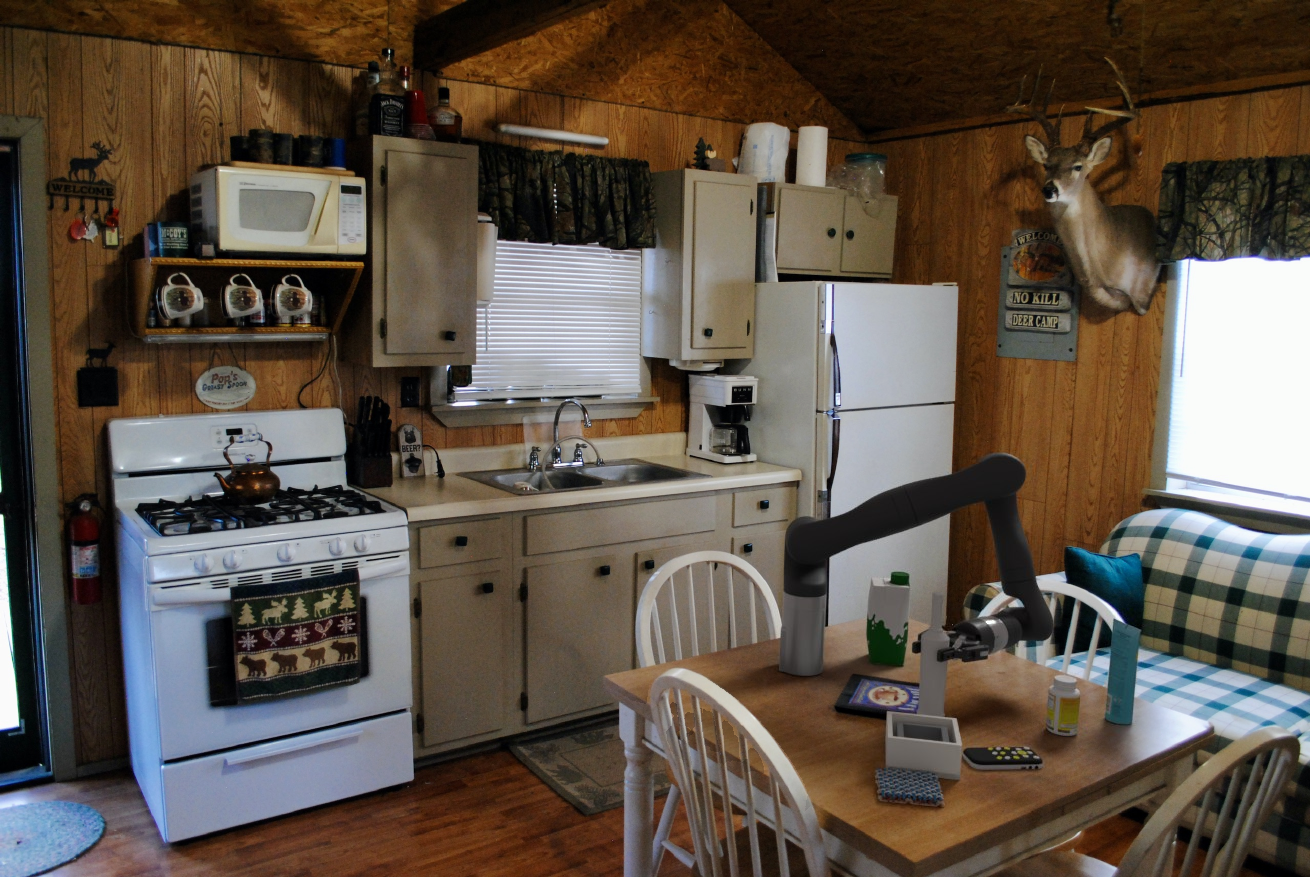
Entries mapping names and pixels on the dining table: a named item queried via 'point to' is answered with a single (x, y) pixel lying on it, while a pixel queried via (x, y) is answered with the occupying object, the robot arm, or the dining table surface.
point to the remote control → (1002, 758)
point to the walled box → (923, 744)
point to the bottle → (933, 663)
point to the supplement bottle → (1063, 706)
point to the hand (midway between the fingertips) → (926, 652)
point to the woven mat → (909, 787)
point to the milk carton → (888, 619)
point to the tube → (1122, 673)
